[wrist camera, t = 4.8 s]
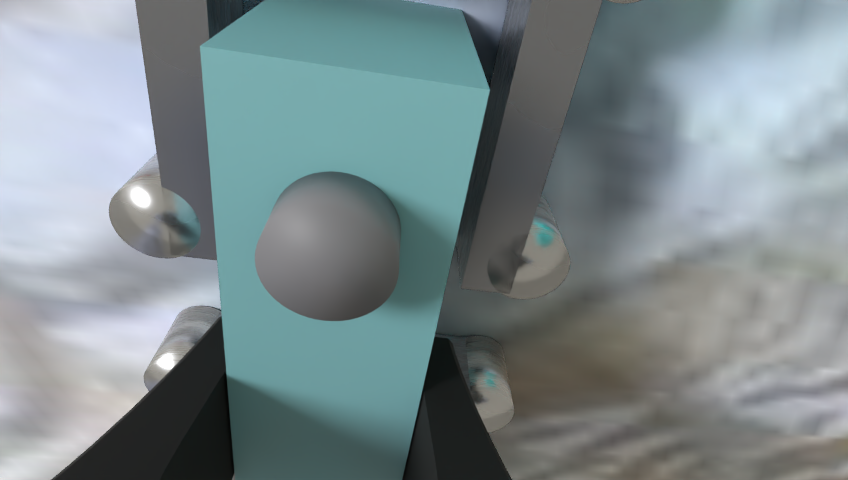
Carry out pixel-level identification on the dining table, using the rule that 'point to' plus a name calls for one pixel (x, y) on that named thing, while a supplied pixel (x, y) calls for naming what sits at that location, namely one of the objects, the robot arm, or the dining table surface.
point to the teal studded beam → (335, 222)
